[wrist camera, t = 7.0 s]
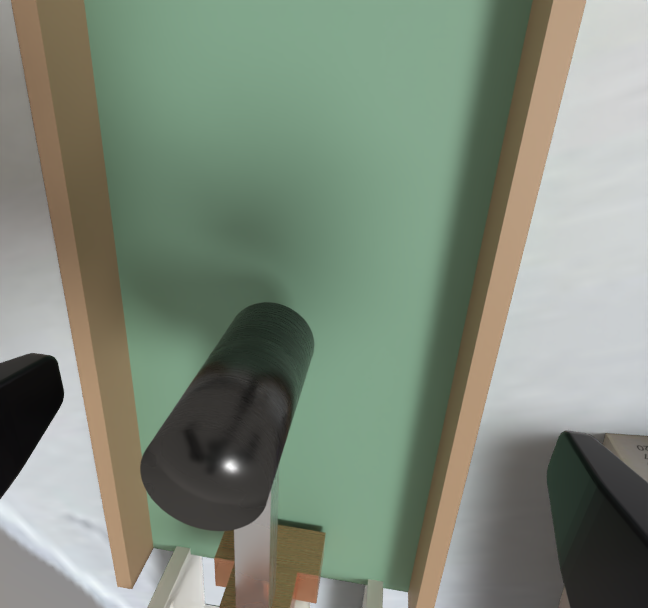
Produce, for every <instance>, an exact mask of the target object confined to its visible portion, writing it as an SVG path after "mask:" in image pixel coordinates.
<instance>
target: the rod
mask: <svg viewBox="0 0 648 608" xmlns="http://www.w3.org/2000/svg"><path fill="white" fill-rule="evenodd" d="M313 353H314V337H313V333H312V331H311V329H310V327H309V325H308V323H307V322H306V321H305V320H304V318H303V317H302V316H301V315H299V314H298V313H297V312H296V311H294V310H292V309H291V308H289V307H287V306H284V305H281V304H278V303H272V302H262V303H256V304H253V305H250V306H248V307H246V308H245V309H243V310H242V311H241V312H239V313H238V314H237V316H236V317H235V318H234V320H233V321H232V323H231V324H230V326H229V327H228V329H227V330H226V332H225V333H224V335H223V336H222V338H221V339H220V341H219V342H218V344H217V345H216V346H215V348H214V349H213V351H212V352H211V354H210V355H209V357H208V358H207V360H206V361H205V363H204V364H203V366H202V367H201V369H200V370H199V372H198V373H197V375H196V376H195V378H194V379H193V380H192V382H191V383H190V385H189V386H188V388H187V389H186V391H185V392H184V394H183V395H182V397H181V398H180V400H179V401H178V403H177V404H176V406H175V407H174V409H173V410H172V412H171V413H170V415H169V416H168V417H167V419H166V420H165V422H164V423H163V425H162V426H161V428H160V429H159V431H158V432H157V434H156V435H155V437H154V438H153V440H152V441H151V443H150V444H149V446H148V447H147V449H146V450H145V452H144V454H143V456H142V459H141V464H140V474H141V479H142V482H143V485H144V487H145V489H146V491H147V493H148V494H149V496H150V497H151V499H152V500H153V501H154V502H155V503H156V504H157V505H158V506H159V507H160V508H161V509H162V510H163V511H165V512H166V513H167V514H168V515H170V516H172V517H173V518H175V519H176V520H178V521H180V522H182V523H184V524H187V525H189V526H192V527H195V528H199V529H204V530H210V531H224V534H223V537H222V539H221V542H220V544H219V547H218V550H217V552H216V555H215V557H214V561H215V581H216V586H222V587H226V589H225V592H224V595H223V598H222V601H221V604H220V607H219V608H294V606H295V601H296V600H300V601H305V602H311V603H316V602H317V595H318V589H319V583H320V577H321V570H322V564H323V557H324V546H325V535H326V533H325V532H319V531H313V530H307V529H301V528H294V527H288V526H282V525H278V498H279V466H280V459H281V456H282V453H283V449H284V446H285V443H286V440H287V436H288V433H289V430H290V427H291V424H292V420H293V417H294V414H295V411H296V408H297V404H298V401H299V398H300V395H301V392H302V388H303V385H304V382H305V379H306V376H307V372H308V369H309V366H310V363H311V360H312V356H313Z"/></svg>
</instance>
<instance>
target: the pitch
mask: <svg viewBox="0 0 648 608" xmlns="http://www.w3.org/2000/svg"><path fill="white" fill-rule="evenodd" d="M11 3H12V9H13V14H14V20H15V25H16V31H17V36H18V42H19V47H20V53H21V58H22V64H23V69H24V75H25V80H26V86H27V91H28V97H29V102H30V108H31V113H32V119H33V124H34V130H35V135H36V141H37V146H38V152H39V157H40V163H41V168H42V174H43V179H44V185H45V190H46V196H47V201H48V207H49V212H50V218H51V223H52V229H53V234H54V240H55V245H56V251H57V256H58V262H59V267H60V273H61V278H62V284H63V289H64V295H65V300H66V306H67V311H68V317H69V322H70V328H71V333H72V339H73V344H74V350H75V355H76V361H77V366H78V372H79V377H80V383H81V388H82V394H83V399H84V405H85V410H86V416H87V421H88V427H89V432H90V438H91V443H92V449H93V454H94V460H95V465H96V471H97V476H98V482H99V487H100V493H101V498H102V504H103V509H104V515H105V520H106V526H107V531H108V537H109V542H110V548H111V553H112V559H113V564H114V570H115V575H116V581H117V586H118V587H123V588H128V589H132V588H133V586H134V585H135V583H136V581H137V579H138V577H139V575H140V573H141V571H142V569H143V567H144V565H145V563H146V561H147V560H148V558H149V556H150V554H151V552H152V550H153V548H157V549H163V550H168V551H174V550H175V548H176V546H180V547H185V548H190V552H191V555H197V556H203V557H209V558H214V557H215V555H216V552H217V550H218V547H219V544H220V542H221V539H222V537H223V534H224V531H210V530H204V529H199V528H195V527H192V526H189V525H187V524H184V523H182V522H180V521H178V520H176V519H175V518H173V517H172V516H170V515H168V514H167V513H166V512H165V511H163V510H162V509H161V508H160V507H159V506H158V505H157V504H156V503H155V502H154V501H153V500H152V499H151V497H150V496H149V494H148V493H147V491H146V489H145V487H144V485H143V482H142V479H141V474H140V464H141V459H142V456H143V454H144V452H145V450H146V449H147V447H148V446H149V444H150V443H151V441H152V440H153V438H154V437H155V435H156V434H157V432H158V431H159V429H160V428H161V426H162V425H163V423H164V422H165V420H166V419H167V417H168V416H169V415H170V413H171V412H172V410H173V409H174V407H175V406H176V404H177V403H178V401H179V400H180V398H181V397H182V395H183V394H184V392H185V391H186V389H187V388H188V386H189V385H190V383H191V382H192V380H193V379H194V378H195V376H196V375H197V373H198V372H199V370H200V369H201V367H202V366H203V364H204V363H205V361H206V360H207V358H208V357H209V355H210V354H211V352H212V351H213V349H214V348H215V346H216V345H217V344H218V342H219V341H220V339H221V338H222V336H223V335H224V333H225V332H226V330H227V329H228V327H229V326H230V324H231V323H232V321H233V320H234V318H235V317H236V316H237V314H238V313H239V312H241V311H242V310H243V309H245V308H246V307H248V306H250V305H253V304H256V303H262V302H272V303H278V304H281V305H284V306H287V307H289V308H291V309H292V310H294V311H296V312H297V313H298V314H299V315H301V316H302V317H303V318H304V320H305V321H306V322H307V323H308V325H309V327H310V329H311V331H312V333H313V337H314V353H313V356H312V360H311V363H310V366H309V369H308V372H307V376H306V379H305V382H304V385H303V388H302V392H301V395H300V398H299V401H298V404H297V408H296V411H295V414H294V417H293V420H292V424H291V427H290V430H289V433H288V436H287V440H286V443H285V446H284V449H283V453H282V456H281V459H280V466H279V498H278V525H282V526H288V527H294V528H301V529H307V530H313V531H319V532H325V533H326V535H325V546H324V557H323V564H322V570H321V577H324V578H329V579H335V580H341V581H347V582H352V583H358V584H364V585H368V579H371V580H377V581H382V582H383V588H387V589H393V590H398V591H404V592H408V608H434V606H435V602H436V598H437V594H438V590H439V586H440V582H441V578H442V574H443V570H444V566H445V562H446V558H447V554H448V550H449V546H450V542H451V538H452V534H453V530H454V526H455V522H456V518H457V514H458V510H459V506H460V502H461V498H462V494H463V490H464V486H465V482H466V478H467V474H468V470H469V466H470V462H471V458H472V454H473V450H474V446H475V442H476V438H477V434H478V430H479V426H480V422H481V418H482V414H483V410H484V406H485V402H486V398H487V394H488V390H489V386H490V382H491V378H492V374H493V370H494V366H495V362H496V358H497V354H498V350H499V346H500V342H501V338H502V334H503V330H504V326H505V323H506V319H507V315H508V311H509V307H510V303H511V299H512V295H513V291H514V287H515V283H516V279H517V275H518V271H519V267H520V263H521V259H522V255H523V251H524V247H525V243H526V239H527V235H528V231H529V227H530V223H531V219H532V215H533V211H534V207H535V203H536V199H537V195H538V191H539V187H540V183H541V179H542V175H543V171H544V167H545V163H546V159H547V155H548V151H549V147H550V143H551V139H552V135H553V131H554V127H555V123H556V119H557V115H558V111H559V107H560V103H561V99H562V95H563V91H564V87H565V83H566V79H567V75H568V71H569V67H570V63H571V59H572V55H573V51H574V47H575V43H576V39H577V35H578V31H579V27H580V23H581V19H582V15H583V11H584V7H585V4H586V0H11Z"/></svg>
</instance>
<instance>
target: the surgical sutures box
mask: <svg viewBox="0 0 648 608" xmlns="http://www.w3.org/2000/svg"><path fill="white" fill-rule="evenodd" d="M603 445H604V446H605V447H606V448H607V449H608V450H610V451H611V452H612V453H613V454H614V455H616V456H617V457H618V458H619V459H620V460H622V461H623V462H624V463H625V464H626V465H628V466H629V467H630V468H631V469H632V470H634V471H635V472H636V473H637V474H639V475H640V476H641V477H642V478H643V479H645V480H646V481H647V482H648V436H640V435H625V434H611V433H606V434H605V437H604V441H603ZM558 608H570V605H569V601H568V597H567V594H566V590H565V586H564V588H563V592H562V595H561V599H560V603H559V606H558Z"/></svg>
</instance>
